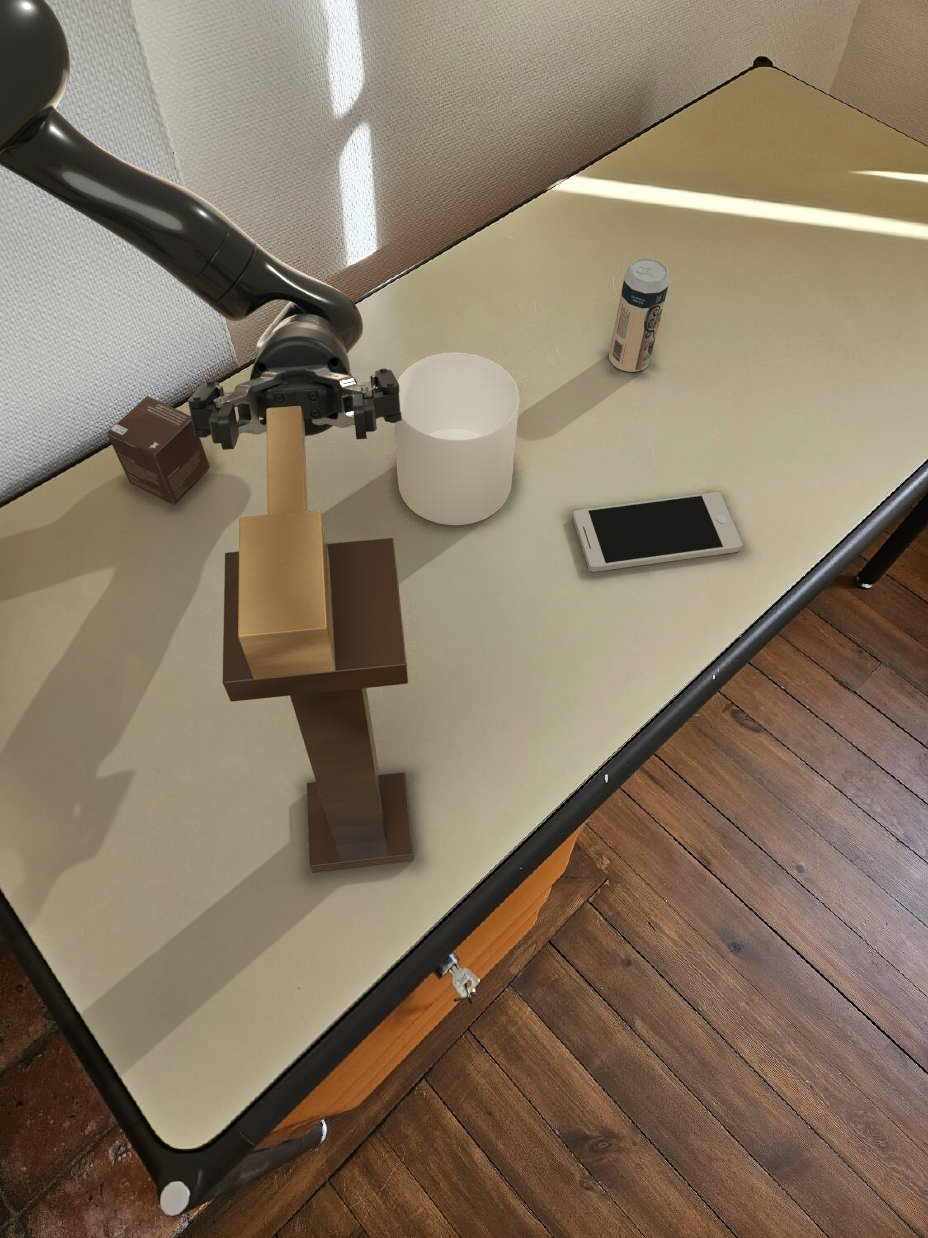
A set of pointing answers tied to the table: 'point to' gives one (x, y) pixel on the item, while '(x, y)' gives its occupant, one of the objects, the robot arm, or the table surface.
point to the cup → (456, 437)
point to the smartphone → (656, 531)
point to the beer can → (639, 314)
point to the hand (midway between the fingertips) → (293, 429)
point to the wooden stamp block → (285, 565)
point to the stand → (342, 708)
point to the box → (159, 449)
